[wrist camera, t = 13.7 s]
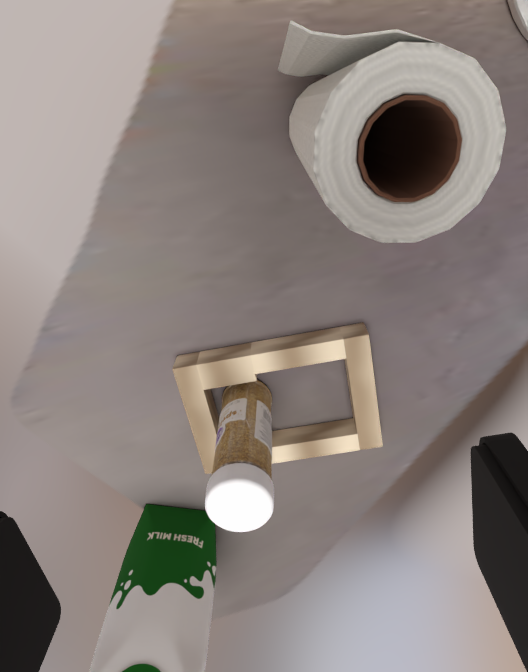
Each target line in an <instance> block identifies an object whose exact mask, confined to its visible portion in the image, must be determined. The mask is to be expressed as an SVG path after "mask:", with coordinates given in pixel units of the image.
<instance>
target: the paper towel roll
mask: <svg viewBox="0 0 528 672" xmlns="http://www.w3.org/2000/svg"><path fill="white" fill-rule="evenodd" d="M278 71H280V72H282V73H284V74H286V75H292V76H299V77H304V76H313V75H321V74H325V75H328V76H327V77H325V78H323V79H321V80H319V81H317V82H315V83H313V84H311V85H309V86H308V87H307V88H306V89H305V90H304V91H303V92H302V94H301V95H300V96H299V97H298V98H297V99H296V101H295V104H294V106H293V109H292V111H291V114H290V117H289V136H290V139H291V142H292V144H293V147H294V150H295V152H296V154H297V156H298V157H299V159H300V161H301V163H302V164H303V166H304V168H305V170H306V171H307V173H308V175H309V177H310V178H311V180H312V182H313V184H314V185H315V187H316V189H317V191H318V192H319V194H320V196H321V198H322V199H323V201H324V203H325V204H326V206H327V207H328V208H329V209H330V210H331V211H332V212H333V213H334V214H335V215H336V216H337V217H338V218H339V219H340V220H341V221H342V223H343V224H344V225H345V226H346V227H347V228H348V229H349V230H351V231H353V232H356V233H358V234H361V235H363V236H365V237H368V238H370V239H373V240H375V241H378V242H380V243H414V242H418V241H421V240H423V239H426V238H429V237H431V236H434V235H436V234H439V233H441V232H444V231H446V230H449V229H451V228H452V227H453V226H454V225H455V224H456V223H457V222H459V221H460V220H461V219H462V218H463V217H464V216H465V215H467V214H468V213H469V212H470V211H471V210H472V209H474V208H475V207H476V206H477V205H478V204H479V203H480V201H481V200H482V198H483V196H484V194H485V193H486V191H487V189H488V187H489V186H490V184H491V182H492V180H493V179H494V177H495V175H496V173H497V172H498V170H499V167H500V161H501V156H502V150H503V145H504V139H505V134H506V125H505V120H504V115H503V110H502V105H501V101H500V96H499V91H498V89H497V88H496V86H495V85H494V84H493V82H492V81H491V79H490V78H489V77H488V75H487V74H486V73H485V71H484V70H483V69H482V67H481V66H480V65H479V63H478V62H477V61H476V59H475V58H473V57H471V56H468V55H466V54H464V53H462V52H459V51H457V50H455V49H453V48H450V47H448V46H446V45H444V44H441V43H439V42H436V41H433V40H430V39H427V38H424V37H420V36H417V35H414V34H411V33H408V32H405V31H402V30H398V29H394V30H386V31H378V32H370V33H362V34H354V35H346V36H345V35H338V34H330V33H323V32H316V31H311V30H309V29H307V28H305V27H303V26H301V25H299V24H297V23H295V22H293V21H290V24H289V28H288V32H287V36H286V39H285V43H284V47H283V51H282V55H281V59H280V63H279V67H278Z"/></svg>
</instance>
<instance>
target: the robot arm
mask: <svg viewBox="0 0 528 672" xmlns="http://www.w3.org/2000/svg"><path fill="white" fill-rule="evenodd" d="M507 1H508V4H509V7H510V10H511V13H512V16H513V19H514V21H515V23H516V24H517V26H518V28H519V30H520V31H521V33H522V35H523V36H524V37H525V38H526V39H527V40H528V0H507ZM471 476H472V508H473V540H474V551H475V555H476V559H477V562H478V565H479V567H480V570H481V572H482V574H483V576H484V578H485V580H486V583H487V585H488V587H489V589H490V592H491V594H492V596H493V598H494V600H495V603H496V605H497V607H498V609H499V611H500V614H501V615H502V618H503V620H504V622H505V624H506V627H507V629H508V631H509V633H510V635H511V638H512V640H513V642H514V644H515V646H516V649H517V651H518V653H519V655H520V657H521V660H522V662H523V664H524V666H525V668H526V670H527V672H528V451H527V449H526V448H525V447H524V445H523V444H522V443H521V441H520V440H519V439H518V437H517V436H516V435H515V434H513V433H505V434H499V435H492V436H486V437H482V438H480V443H479V446H473V447H472V448H471ZM60 614H61V607H60V603H59V600H58V598H57V597H56V595H55V593H54V591H53V589H52V587H51V586H50V584H49V582H48V580H47V578H46V576H45V575H44V573H43V571H42V569H41V567H40V566H39V564H38V562H37V560H36V558H35V557H34V555H33V553H32V551H31V549H30V547H29V546H28V544H27V542H26V540H25V538H24V536H23V535H22V533H21V531H20V529H19V527H18V525H17V524H16V522H15V521H14V519H13V518H11V517H8V516H7V515H6V514H5V513H4V512H2V511H0V672H39V670H40V667H41V664H42V662H43V660H44V657H45V655H46V652H47V650H48V647H49V645H50V642H51V640H52V638H53V635H54V632H55V630H56V628H57V625H58V623H59V620H60Z"/></svg>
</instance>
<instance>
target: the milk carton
mask: <svg viewBox="0 0 528 672" xmlns="http://www.w3.org/2000/svg"><path fill="white" fill-rule="evenodd" d="M215 578H216V534H215V523H214V522H213V521H212V520H211V519H210V518H209V516H208V514H207V512H206V511H203V510H194V509H186V508H177V507H168V506H160V505H151V504H146V506H145V508H144V511H143V513H142V515H141V518H140V520H139V523H138V525H137V527H136V530H135V532H134V535H133V537H132V539H131V542H130V544H129V547H128V549H127V552H126V555H125V558H124V561H123V564H122V567H121V571H120V573H119V576H118V579H117V583H116V586H115V589H114V592H113V595H112V598H111V601H110V605H109V608H108V611H107V614H106V617H105V620H104V623H103V627H102V630H101V633H100V636H99V639H98V643H97V646H96V650H95V653H94V657H93V660H92V664H91V667H90V671H89V672H205V666H206V660H207V652H208V643H209V633H210V626H211V617H212V608H213V599H214V590H215Z"/></svg>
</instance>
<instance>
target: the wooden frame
mask: <svg viewBox="0 0 528 672" xmlns="http://www.w3.org/2000/svg"><path fill="white" fill-rule="evenodd" d="M340 359H344V360H345V366H346V373H347V380H348V387H349V393H350V400H351V407H352V413H353V418H351V419H344V420H338V421H332V422H326V423H320V424H313V425H307V426H301V427H295V428H288V429H282V430H276V431H272V464H273V463H279V462H286V461H292V460H299V459H305V458H312V457H318V456H325V455H331V454H338V453H344V452H350V451H357V450H363V449H370V448H376V447H383V445H382V437H381V429H380V421H379V413H378V405H377V396H376V388H375V380H374V372H373V364H372V356H371V348H370V340H369V334H368V332H367V329H366V327H365V325H364V323H358V324H352V325H347V326H341V327H336V328H330V329H324V330H319V331H313V332H307V333H302V334H296V335H291V336H285V337H279V338H274V339H268V340H263V341H257V342H251V343H246V344H240V345H234V346H229V347H223V348H218V349H212V350H206V351H201V352H195V353H189V354H184V355H178V356H177V358H176V361H175V363H174V366H173V369H172V370H173V373H174V376H175V379H176V382H177V385H178V389H179V392H180V395H181V398H182V401H183V404H184V407H185V411H186V414H187V417H188V420H189V423H190V426H191V430H192V433H193V436H194V439H195V442H196V445H197V448H198V452H199V455H200V458H201V461H202V464H203V467H204V471H205V474H208V473H212V471H213V462H214V456H215V446H216V438H217V432H218V425H219V417H218V413H217V410H216V406H215V403H214V399H213V396H212V392H211V389H212V388H218V387H224V386H230V385H236V384H242V383H248V382H253V381H257V374H259V373H265V372H270V371H276V370H282V369H288V368H294V367H300V366H305V365H311V364H317V363H323V362H329V361H335V360H340Z"/></svg>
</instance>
